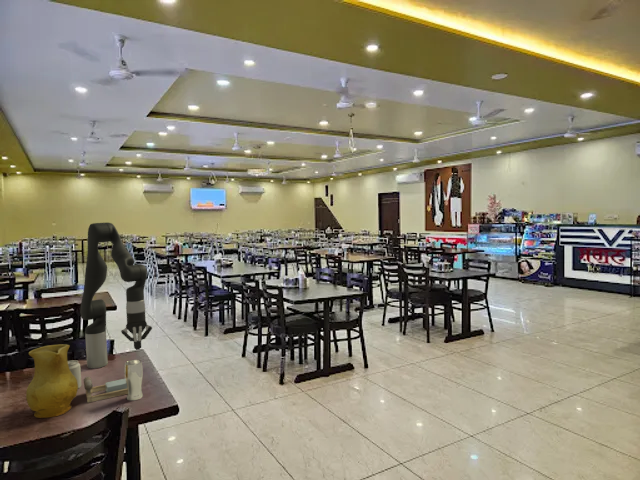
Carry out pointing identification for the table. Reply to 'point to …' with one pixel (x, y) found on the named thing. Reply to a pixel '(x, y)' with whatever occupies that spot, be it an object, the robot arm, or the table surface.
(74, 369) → the can
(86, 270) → the robot arm
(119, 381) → the pale teal block
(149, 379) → the table surface
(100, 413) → the table surface
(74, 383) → the pitcher
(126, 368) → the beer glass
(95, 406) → the table surface
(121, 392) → the bay
